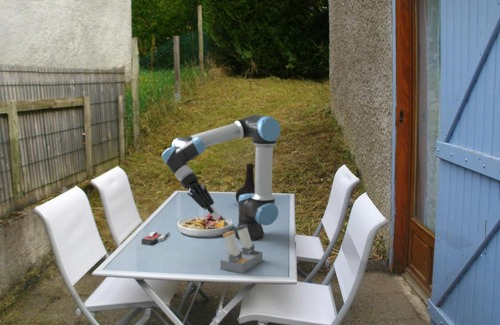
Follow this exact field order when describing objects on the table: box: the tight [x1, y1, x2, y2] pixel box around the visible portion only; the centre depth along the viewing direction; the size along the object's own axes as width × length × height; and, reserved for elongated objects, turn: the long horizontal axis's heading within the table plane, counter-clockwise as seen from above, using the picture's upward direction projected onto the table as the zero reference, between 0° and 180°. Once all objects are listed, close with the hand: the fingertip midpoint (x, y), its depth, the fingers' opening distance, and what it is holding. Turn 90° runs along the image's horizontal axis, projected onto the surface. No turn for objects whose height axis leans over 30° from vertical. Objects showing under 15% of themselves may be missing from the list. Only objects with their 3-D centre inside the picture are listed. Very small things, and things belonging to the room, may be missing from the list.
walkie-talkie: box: [141, 231, 171, 246], centre depth 275 cm, size 9×4×20 cm
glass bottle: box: [235, 163, 255, 204], centre depth 351 cm, size 18×18×28 cm
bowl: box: [177, 213, 233, 238], centre depth 292 cm, size 30×30×8 cm
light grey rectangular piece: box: [235, 224, 253, 251], centre depth 243 cm, size 3×5×12 cm, turn 153°
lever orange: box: [222, 230, 240, 259], centre depth 233 cm, size 3×5×12 cm, turn 152°
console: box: [220, 243, 263, 274], centre depth 238 cm, size 11×19×7 cm, turn 152°
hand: (218, 218), depth 235 cm, fingers closed
